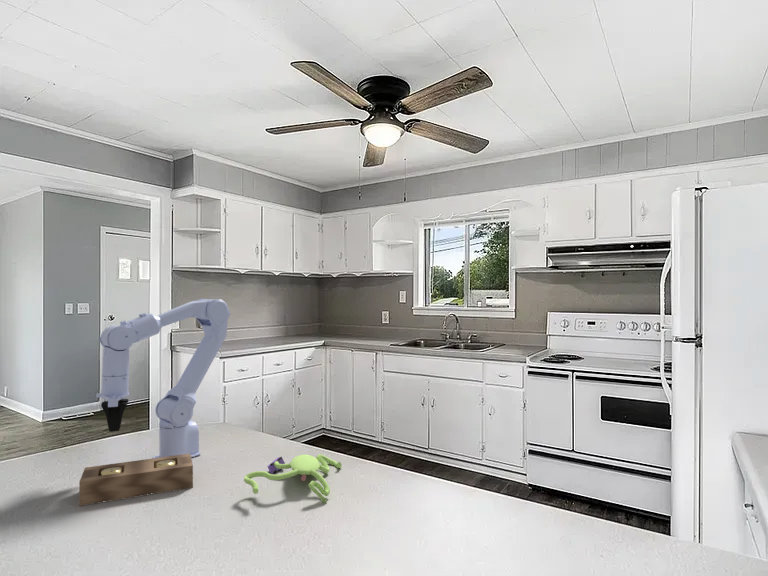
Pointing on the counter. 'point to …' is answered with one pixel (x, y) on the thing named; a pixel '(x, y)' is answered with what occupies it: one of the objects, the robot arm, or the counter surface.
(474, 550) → the counter surface
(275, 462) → the figurine
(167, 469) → the block
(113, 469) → the peg
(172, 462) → the peg
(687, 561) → the counter surface
